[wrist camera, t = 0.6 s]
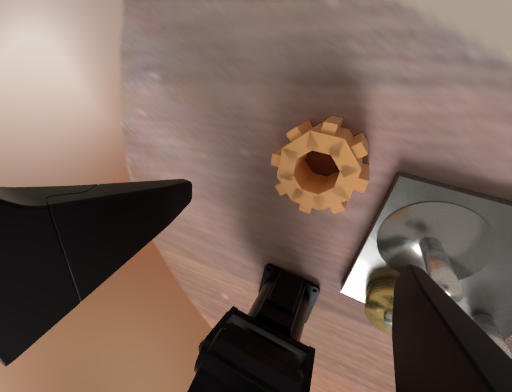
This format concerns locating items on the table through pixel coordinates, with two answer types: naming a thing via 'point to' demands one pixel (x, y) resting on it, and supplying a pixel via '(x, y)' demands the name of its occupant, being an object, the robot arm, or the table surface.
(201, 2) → the table surface
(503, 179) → the table surface
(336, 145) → the gear
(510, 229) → the carrier
